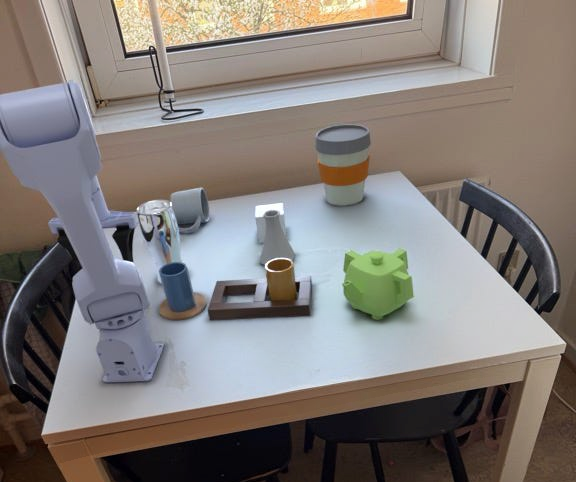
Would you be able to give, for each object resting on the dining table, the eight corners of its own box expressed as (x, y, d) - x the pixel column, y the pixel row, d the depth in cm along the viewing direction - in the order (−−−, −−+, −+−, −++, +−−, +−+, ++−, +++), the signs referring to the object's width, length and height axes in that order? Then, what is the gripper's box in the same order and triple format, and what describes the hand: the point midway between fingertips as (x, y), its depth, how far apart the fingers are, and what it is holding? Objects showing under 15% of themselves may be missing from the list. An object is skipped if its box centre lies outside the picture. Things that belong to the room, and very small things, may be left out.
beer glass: (183, 287, 108) (164, 214, 98) (150, 286, 110) (128, 214, 100) (194, 269, 113) (177, 198, 103) (163, 269, 115) (143, 199, 105)
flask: (253, 265, 112) (246, 218, 105) (270, 249, 116) (264, 203, 110) (284, 270, 109) (278, 223, 102) (301, 254, 113) (296, 207, 107)
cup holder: (310, 315, 96) (309, 304, 95) (209, 320, 98) (207, 310, 97) (312, 285, 104) (311, 275, 102) (218, 290, 106) (216, 280, 104)
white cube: (286, 240, 119) (283, 214, 115) (259, 243, 119) (255, 217, 115) (285, 228, 123) (282, 202, 119) (259, 231, 124) (255, 205, 120)
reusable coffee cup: (345, 183, 139) (342, 120, 130) (381, 195, 132) (382, 129, 122) (308, 200, 134) (302, 135, 124) (344, 213, 126) (341, 145, 116)
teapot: (344, 289, 101) (341, 240, 95) (407, 286, 100) (409, 236, 94) (343, 326, 93) (341, 275, 86) (413, 323, 91) (415, 271, 85)
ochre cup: (296, 308, 98) (292, 271, 93) (268, 309, 99) (263, 272, 94) (298, 293, 102) (294, 257, 97) (271, 294, 103) (266, 258, 98)
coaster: (202, 319, 99) (201, 317, 98) (153, 321, 100) (153, 319, 100) (210, 292, 105) (210, 290, 105) (165, 295, 107) (164, 293, 106)
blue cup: (192, 311, 100) (183, 275, 95) (166, 312, 101) (155, 276, 96) (198, 296, 104) (189, 261, 99) (172, 298, 105) (162, 262, 100)
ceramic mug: (178, 216, 135) (170, 185, 129) (211, 213, 134) (204, 182, 129) (170, 236, 127) (161, 204, 122) (205, 233, 126) (198, 201, 121)
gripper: (133, 178, 89) (155, 254, 98) (49, 185, 91) (78, 258, 100) (120, 195, 84) (144, 274, 93) (31, 202, 86) (63, 278, 94)
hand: (109, 267), depth 96 cm, fingers open, 7 cm apart
